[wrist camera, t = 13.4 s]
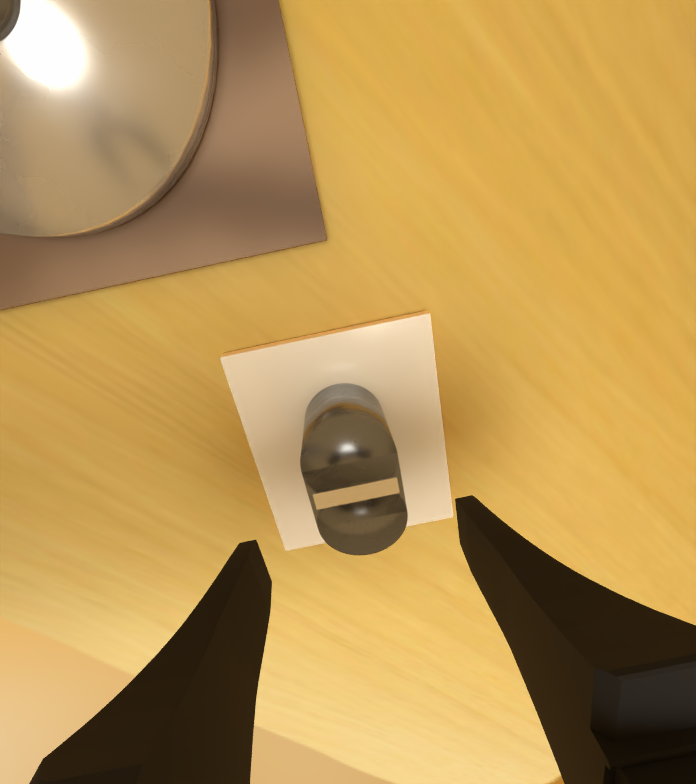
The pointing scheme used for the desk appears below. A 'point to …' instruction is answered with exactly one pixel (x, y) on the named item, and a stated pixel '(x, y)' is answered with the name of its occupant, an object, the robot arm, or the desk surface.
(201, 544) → the desk surface
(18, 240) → the dial base
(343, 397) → the metal fitting
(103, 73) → the dial
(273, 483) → the tile
